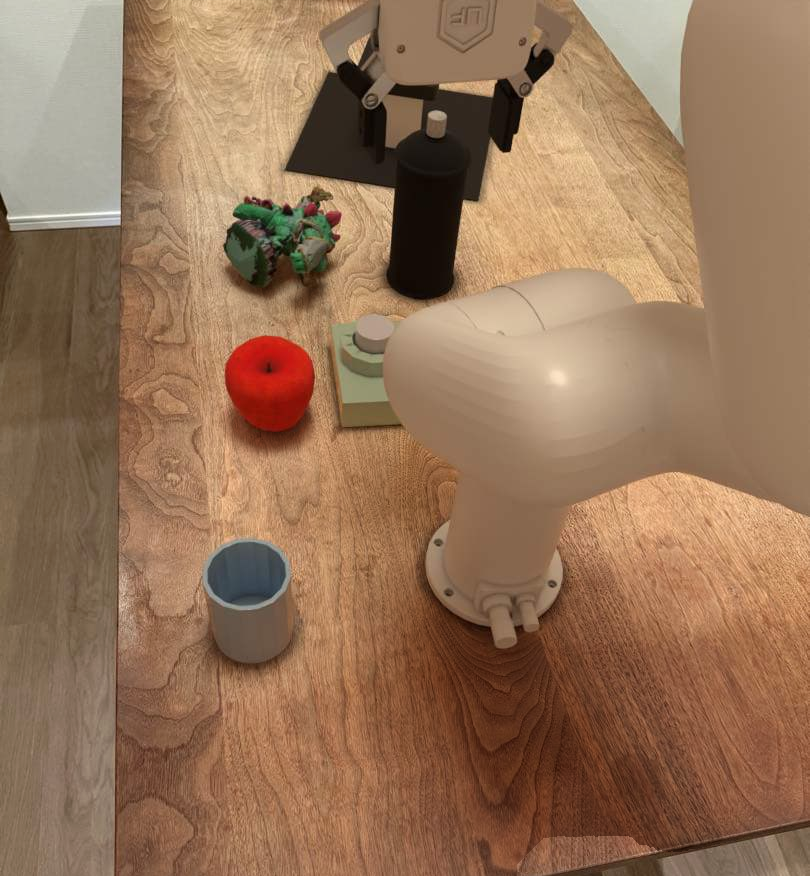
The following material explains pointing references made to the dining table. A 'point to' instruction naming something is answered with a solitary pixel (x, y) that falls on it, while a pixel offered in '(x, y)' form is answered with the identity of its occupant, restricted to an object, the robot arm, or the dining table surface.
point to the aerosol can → (427, 209)
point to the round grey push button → (373, 333)
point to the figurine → (281, 237)
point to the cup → (249, 599)
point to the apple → (270, 382)
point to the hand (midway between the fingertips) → (437, 148)
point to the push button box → (359, 381)
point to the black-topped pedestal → (387, 130)
